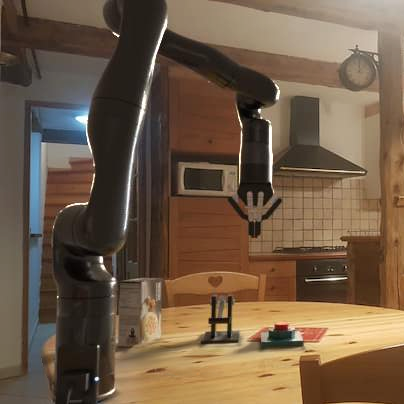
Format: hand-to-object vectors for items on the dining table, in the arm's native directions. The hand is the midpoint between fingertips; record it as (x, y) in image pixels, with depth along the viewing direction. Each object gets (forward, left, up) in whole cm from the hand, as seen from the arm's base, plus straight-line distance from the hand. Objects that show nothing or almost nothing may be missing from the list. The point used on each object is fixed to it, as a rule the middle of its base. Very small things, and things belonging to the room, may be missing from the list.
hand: (254, 238), depth 120 cm
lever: (+13, +8, -19) cm, 25 cm away
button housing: (+10, -7, -27) cm, 30 cm away
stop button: (+10, -7, -23) cm, 26 cm away
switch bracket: (+17, +8, -27) cm, 33 cm away
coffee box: (+18, +28, -27) cm, 43 cm away
